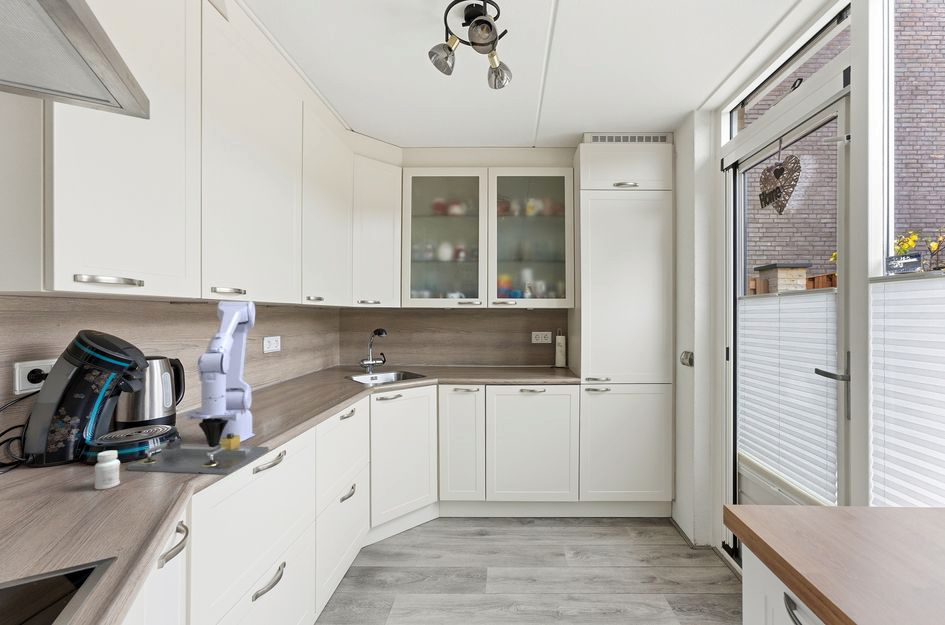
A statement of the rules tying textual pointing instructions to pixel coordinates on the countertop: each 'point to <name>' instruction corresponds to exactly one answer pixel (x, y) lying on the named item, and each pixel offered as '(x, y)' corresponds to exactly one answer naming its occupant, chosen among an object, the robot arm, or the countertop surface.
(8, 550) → the countertop surface
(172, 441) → the fixed leg
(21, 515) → the countertop surface
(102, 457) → the pill bottle
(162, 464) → the flange plate
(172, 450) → the rail
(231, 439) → the sliding leg
